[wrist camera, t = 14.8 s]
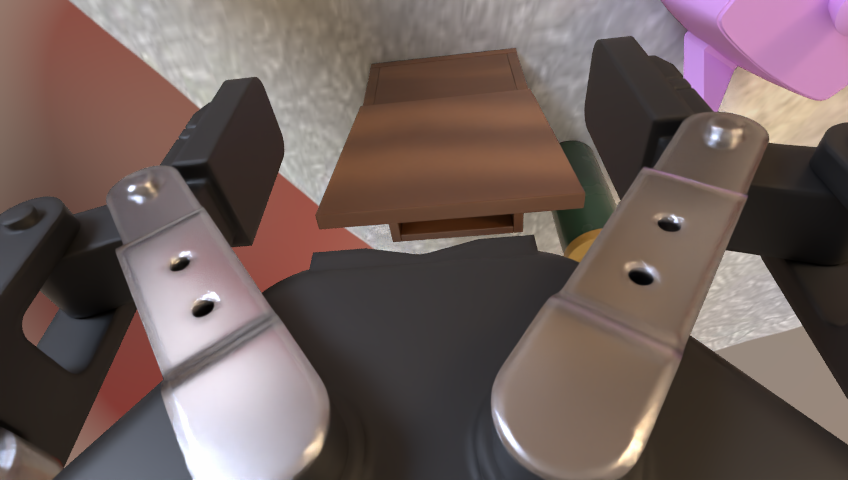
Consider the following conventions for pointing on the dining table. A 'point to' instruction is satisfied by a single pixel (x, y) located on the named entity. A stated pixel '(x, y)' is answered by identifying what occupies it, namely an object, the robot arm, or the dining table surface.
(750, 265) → the dining table surface
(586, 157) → the tea tin
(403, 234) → the chest
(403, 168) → the chest lid
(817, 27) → the teakettle
